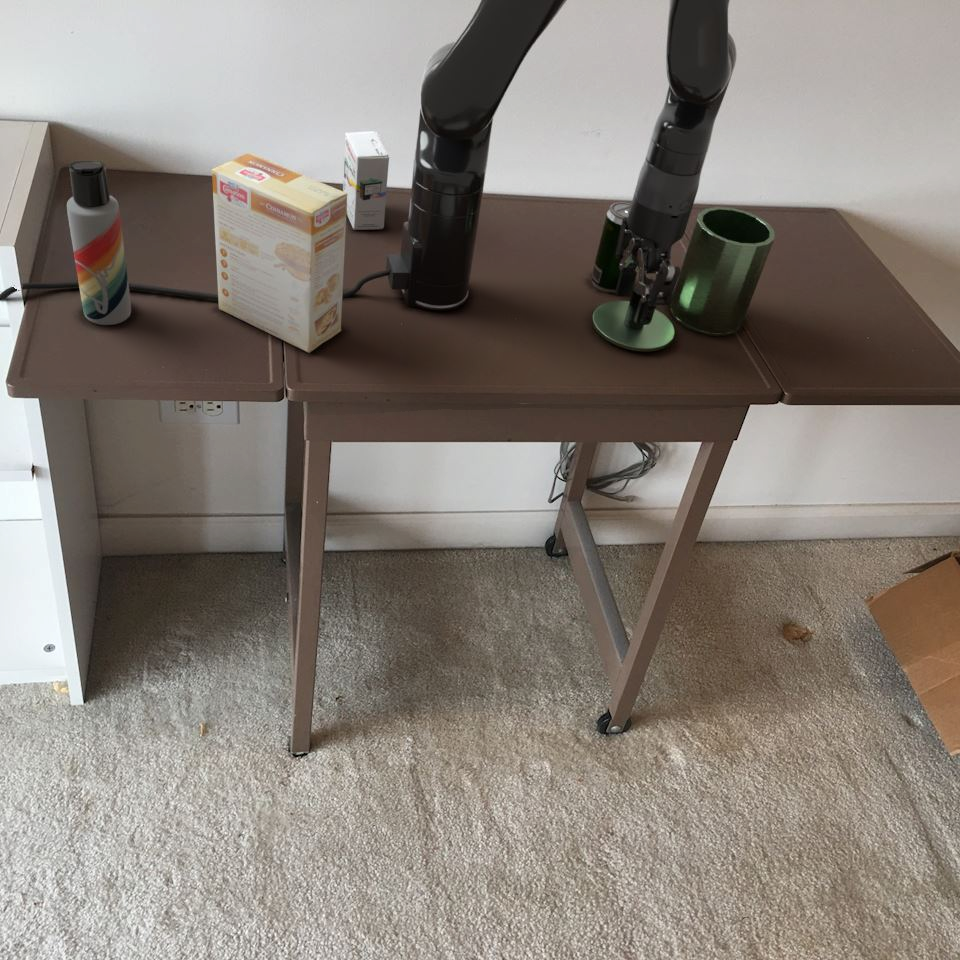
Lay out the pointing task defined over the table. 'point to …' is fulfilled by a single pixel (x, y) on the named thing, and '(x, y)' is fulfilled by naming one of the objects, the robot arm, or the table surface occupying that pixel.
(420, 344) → the table surface
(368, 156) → the ink box
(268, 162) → the coffeecake box
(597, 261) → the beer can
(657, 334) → the bin lid
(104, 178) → the lotion bottle
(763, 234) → the trash can
